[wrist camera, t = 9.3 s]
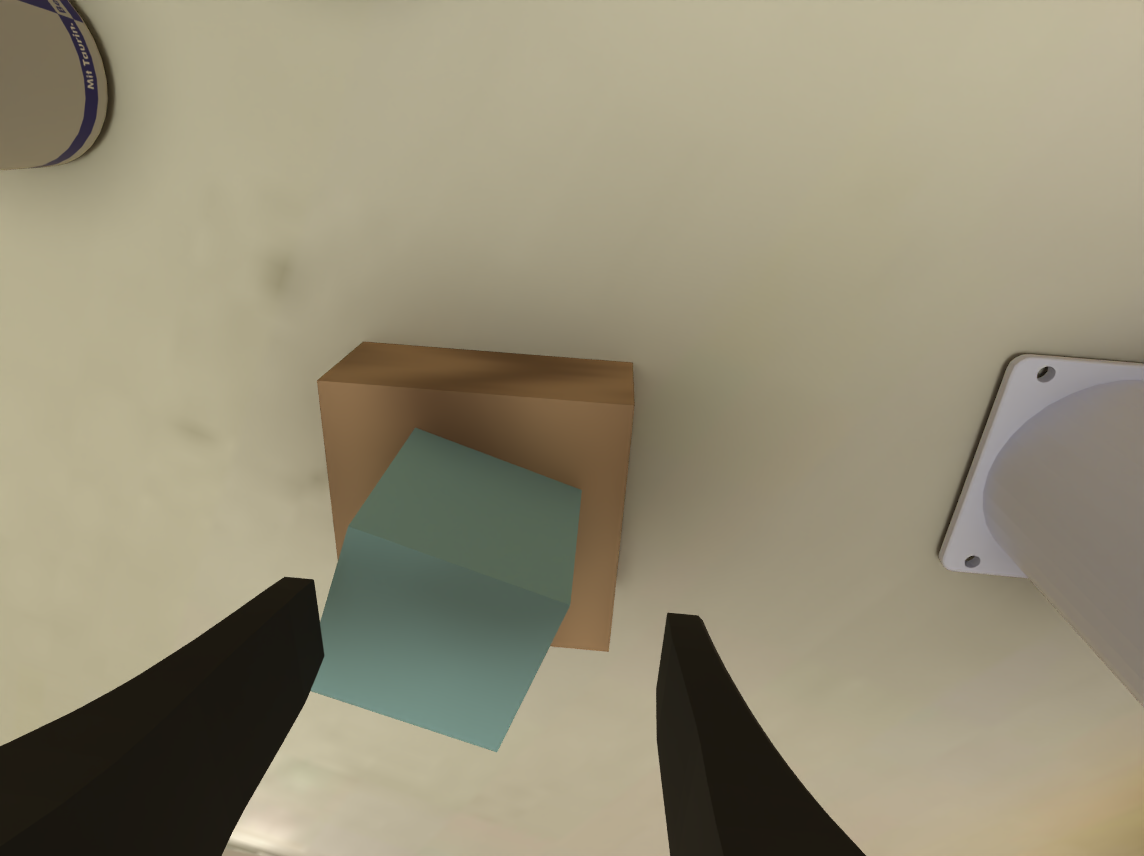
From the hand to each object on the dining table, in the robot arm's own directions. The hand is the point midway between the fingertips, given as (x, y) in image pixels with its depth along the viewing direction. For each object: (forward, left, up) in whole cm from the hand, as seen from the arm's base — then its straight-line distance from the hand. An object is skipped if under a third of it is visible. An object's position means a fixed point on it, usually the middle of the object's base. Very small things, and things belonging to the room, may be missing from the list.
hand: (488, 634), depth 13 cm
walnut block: (+2, +2, -11) cm, 11 cm away
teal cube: (+2, +2, -7) cm, 7 cm away
